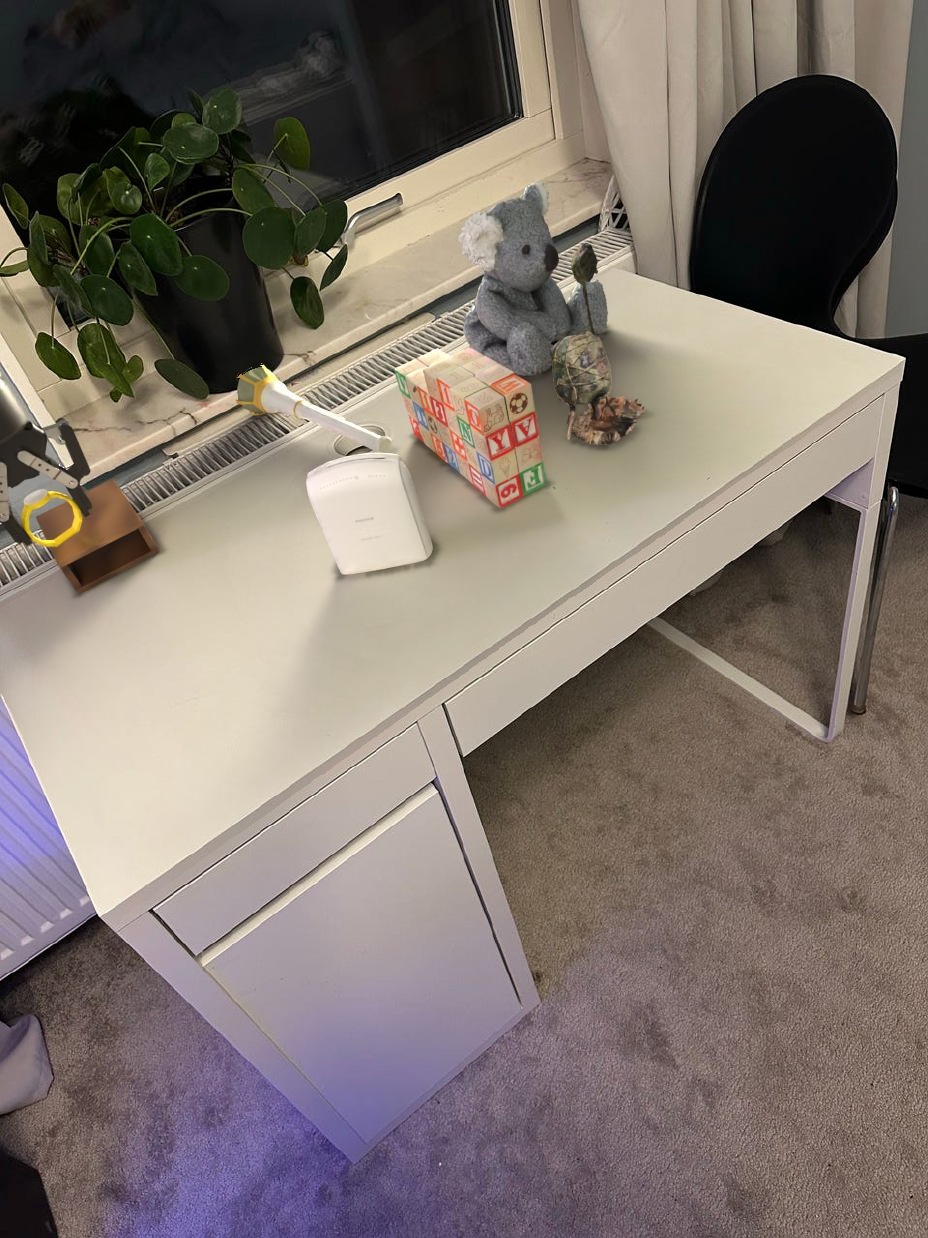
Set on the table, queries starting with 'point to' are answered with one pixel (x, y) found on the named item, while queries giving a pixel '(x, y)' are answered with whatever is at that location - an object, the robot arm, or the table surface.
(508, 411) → the stack of blocks
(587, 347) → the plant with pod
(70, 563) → the shelf
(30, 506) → the watch
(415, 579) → the table surface
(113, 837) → the table surface
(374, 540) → the photo printer
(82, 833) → the table surface
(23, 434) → the robot arm
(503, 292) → the koala plush
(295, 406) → the light stick
